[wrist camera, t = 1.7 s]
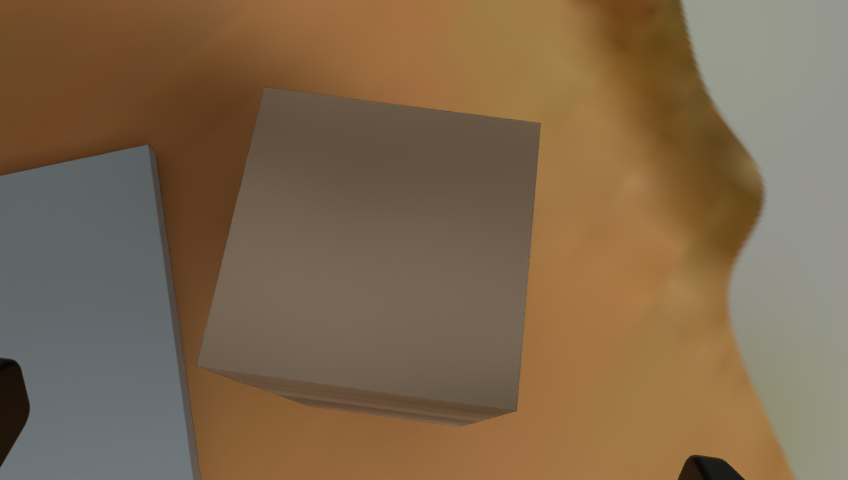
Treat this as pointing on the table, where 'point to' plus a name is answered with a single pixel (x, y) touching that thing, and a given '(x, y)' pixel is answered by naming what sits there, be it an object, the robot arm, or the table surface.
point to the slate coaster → (94, 323)
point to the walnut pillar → (378, 259)
